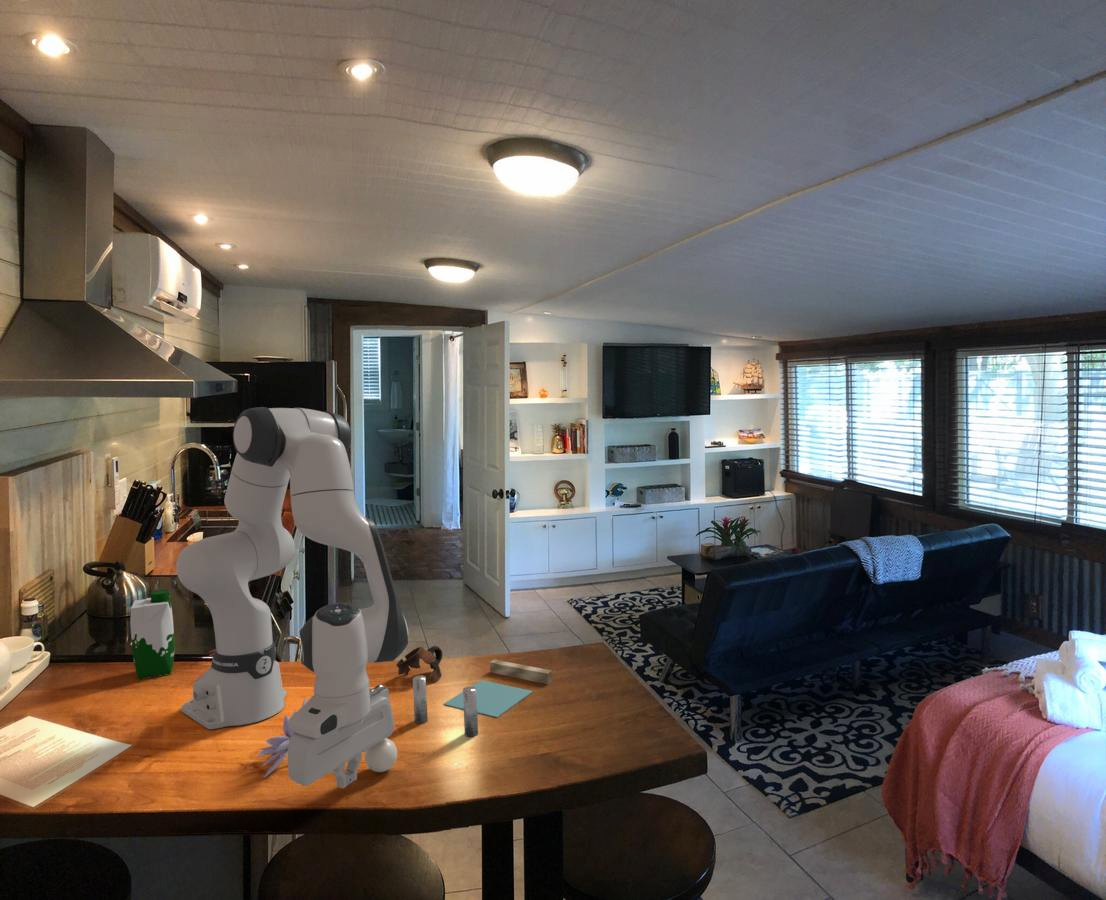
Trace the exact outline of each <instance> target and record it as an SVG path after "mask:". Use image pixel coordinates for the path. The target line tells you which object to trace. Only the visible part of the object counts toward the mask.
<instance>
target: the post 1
mask: <svg viewBox="0 0 1106 900" xmlns="http://www.w3.org/2000/svg"><path fill="white" fill-rule="evenodd" d="M412 690H413V691H412V693H413V695H412V696H413V713H414V715H413V716H414V723H415V724H417V725H420V724H425V723H427V722H428V719H429V718H428V699H427V698H428V697H427V696H428V695H427V677H426V676H425V675H416V676H413V677H412Z"/></svg>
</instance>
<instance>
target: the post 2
mask: <svg viewBox="0 0 1106 900" xmlns="http://www.w3.org/2000/svg"><path fill="white" fill-rule="evenodd" d="M462 692H463V704H464V710H463V722H464V723H463V727H464V736H465V737H466V738H474V737H477V736H479V735H478V734H479V723H478V721H479V720H478V719H479V718H478V713H477V692H476V688H475V687H471V686H466V687H464V688H462Z"/></svg>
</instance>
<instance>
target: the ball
mask: <svg viewBox="0 0 1106 900" xmlns="http://www.w3.org/2000/svg"><path fill="white" fill-rule="evenodd" d="M364 752H365V754H364V761H365V763H366V766H367V767H368V769H370V770H371V771H372V772H375V773H384V772H386V771H387V772H388V770H390V769H392V767H393V766H394V765H395V763H396V761H397V759H398V748H397V746H396V743H395V742H394V741H393V740H391V739H389V738H388V737H387V738H385V739H384V740H382V741H381V742H379V743H377V744H376V745H374V746H372V747H371V748H369V749H367V750H366V751H364Z"/></svg>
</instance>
